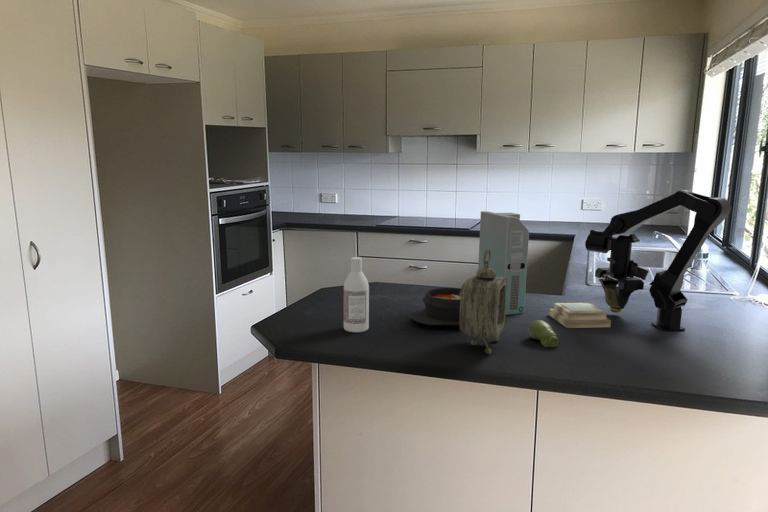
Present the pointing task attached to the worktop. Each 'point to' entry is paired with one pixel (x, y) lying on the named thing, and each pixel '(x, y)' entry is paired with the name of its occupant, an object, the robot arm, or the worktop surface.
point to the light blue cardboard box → (506, 254)
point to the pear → (543, 333)
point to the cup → (612, 298)
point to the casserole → (440, 307)
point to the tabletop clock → (483, 304)
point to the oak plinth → (579, 315)
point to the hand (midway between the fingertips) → (616, 305)
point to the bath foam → (356, 299)
